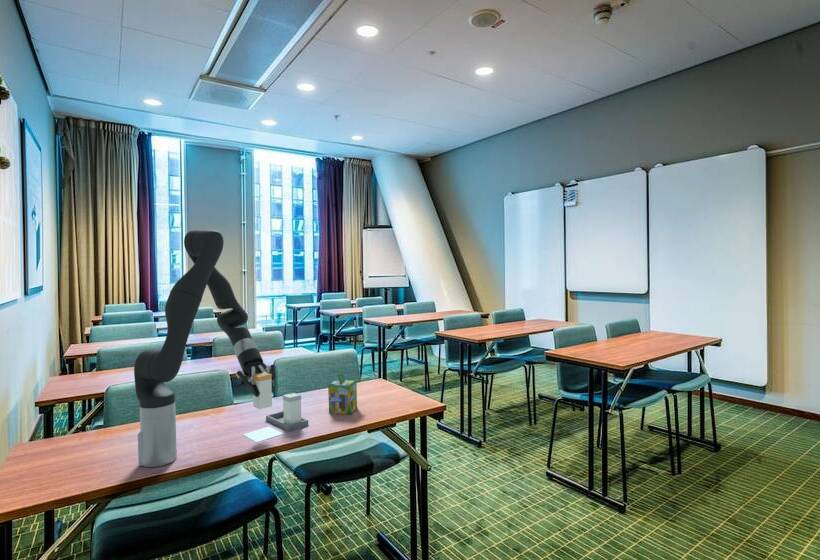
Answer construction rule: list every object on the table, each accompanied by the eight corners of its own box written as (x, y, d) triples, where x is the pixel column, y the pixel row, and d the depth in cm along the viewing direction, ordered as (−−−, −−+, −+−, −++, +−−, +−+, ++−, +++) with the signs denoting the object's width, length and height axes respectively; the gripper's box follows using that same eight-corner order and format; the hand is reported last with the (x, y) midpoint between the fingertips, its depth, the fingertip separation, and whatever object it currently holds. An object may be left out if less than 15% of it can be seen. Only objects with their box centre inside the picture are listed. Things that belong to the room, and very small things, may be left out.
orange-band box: (253, 406, 151) (252, 374, 151) (265, 403, 154) (264, 372, 154) (259, 409, 148) (258, 376, 147) (272, 406, 151) (271, 374, 151)
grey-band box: (283, 425, 160) (283, 395, 159) (294, 422, 163) (294, 392, 163) (290, 428, 156) (289, 397, 156) (301, 425, 160) (301, 394, 159)
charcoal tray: (266, 421, 165) (265, 415, 165) (285, 416, 171) (285, 410, 171) (288, 432, 154) (288, 425, 154) (308, 426, 160) (308, 420, 160)
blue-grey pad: (242, 435, 151) (242, 434, 151) (269, 427, 158) (269, 426, 158) (256, 443, 144) (256, 442, 144) (284, 435, 151) (284, 433, 151)
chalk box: (350, 415, 171) (349, 377, 170) (328, 414, 173) (327, 376, 172) (358, 407, 180) (357, 371, 179) (336, 406, 182) (336, 371, 181)
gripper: (231, 350, 150) (248, 392, 143) (269, 344, 161) (288, 383, 153) (224, 363, 154) (241, 405, 146) (263, 357, 165) (280, 395, 157)
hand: (265, 393), depth 150 cm, fingers closed on orange-band box, 4 cm apart
